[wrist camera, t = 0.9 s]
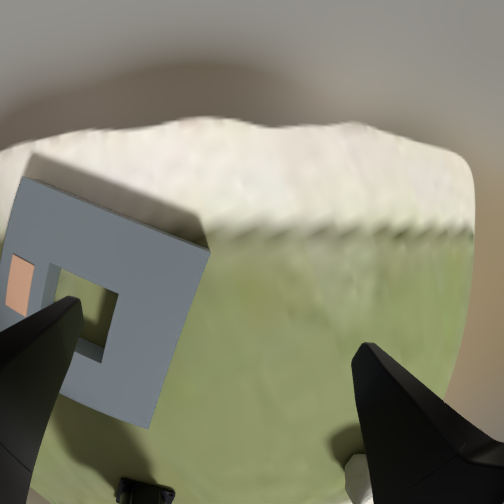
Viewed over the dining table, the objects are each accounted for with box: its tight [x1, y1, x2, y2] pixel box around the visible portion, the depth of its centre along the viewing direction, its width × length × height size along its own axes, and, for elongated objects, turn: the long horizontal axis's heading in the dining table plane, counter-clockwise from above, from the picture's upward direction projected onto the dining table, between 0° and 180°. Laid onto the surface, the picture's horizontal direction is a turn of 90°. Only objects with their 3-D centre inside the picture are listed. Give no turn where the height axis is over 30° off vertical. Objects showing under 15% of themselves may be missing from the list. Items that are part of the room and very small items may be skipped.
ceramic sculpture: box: [345, 454, 373, 504], centre depth 24 cm, size 11×9×15 cm
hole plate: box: [0, 177, 211, 429], centre depth 19 cm, size 16×16×3 cm
